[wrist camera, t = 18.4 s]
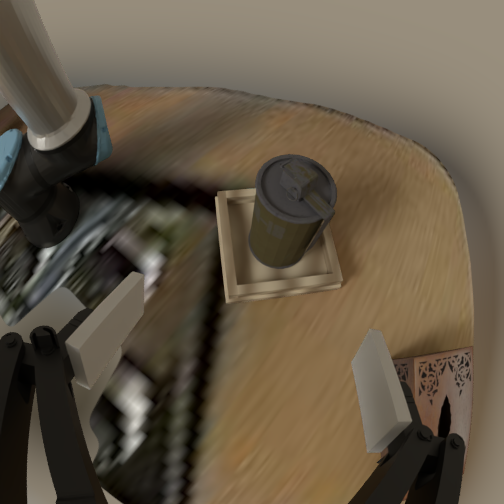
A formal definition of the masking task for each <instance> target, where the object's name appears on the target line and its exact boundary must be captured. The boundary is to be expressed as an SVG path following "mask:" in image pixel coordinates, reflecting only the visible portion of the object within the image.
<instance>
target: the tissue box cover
mask: <svg viewBox="0 0 504 504" xmlns="http://www.w3.org/2000/svg"><path fill="white" fill-rule="evenodd" d="M392 361H393V364H394V367H395V370H396V373H397V376H398V378H399V381H404V382H406V383H407V385H408V386H409V387H410V389H411V391H412V394H413V398H414V400H415V404H416V406H417V409H418V412H419V415H420V418H421V421H422V424H423V425H425V426H428V427H429V428H430V429H431V430H432V432H433V434H434V436H438V437H442V438H446V437H447V436H448V435H449V434H451V433H457V434H458V435H460V436H461V437H462V438H463V440H464V442H465V453H464V465H463V474H464V469H465V464H466V457H467V452H468V445H469V438H470V429H471V418H472V404H473V346H471V347H466V348H460V349H454V350H448V351H442V352H437V353H431V354H426V355H420V356H414V357H407V358H401V359H393V360H392ZM387 453H388V447H386V448H385V449H384V450H383V451H382V452H381V458H383V457H384V456H385V455H386V454H387ZM463 474H462V475H463ZM409 489H410V488H409ZM408 492H409V490H408ZM408 492H407V494H406V495H405V497H404V499H403V500H402V501H404V500H406V498H407V495H408Z"/></svg>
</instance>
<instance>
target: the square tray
mask: <svg viewBox="0 0 504 504" xmlns="http://www.w3.org/2000/svg"><path fill="white" fill-rule="evenodd" d="M255 195H256V188H250V189H241V190H230V191H219V192H218V197H215V201H216V212H217V222H218V233H219V242H220V252H221V262H222V271H223V280H224V288H225V297H226V304H232V303H241V302H249V301H257V300H265V299H273V298H281V297H288V296H295V295H302V294H309V293H316V292H322V291H329V290H335V289H339V288H340V287H341V282H342V281H343V278H342V274H341V269H340V265H339V261H338V257H337V252H336V248H335V244H334V240H333V237H332V233H331V229H330V225H329V223H328V225H327V226H326V228H325V229H324V231H323V232H322V234H321V235H320V237H319V238H318V240H317V242H316V243H315V245H314V246H313V247H312V248H311V249H310V250H308V251H307V252H306V251H305V252H306V253H305V254H304V256H303V257H302V259H301V260H300V261H299V262H298V263H296V264H295V265H293V266H291V267H289V268H284V269H275V268H270V267H267V266H265V265H263V264H262V263H260V262H259V261H258V260H257V259H256V258H255V257H254V256H253V254H252V252H251V251H250V248H249V243H248V236H249V232H250V229H251V224H252V217H253V210H254V202H255ZM323 223H324V221H323V222H322V224H323ZM322 224H321V226H322ZM321 226H320V227H319V229H320V228H321ZM319 229H318V231H319ZM318 231H317V232H316V234H317V233H318ZM316 234H315V236H316ZM315 236H314V237H315ZM314 237H313V239H314ZM313 239H312V240H311V242H312V241H313ZM311 242H310V244H311ZM310 244H309V245H310ZM309 245H308V247H309ZM308 247H307V249H308ZM307 249H306V250H307Z"/></svg>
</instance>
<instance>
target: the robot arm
mask: <svg viewBox="0 0 504 504" xmlns="http://www.w3.org/2000/svg"><path fill="white" fill-rule="evenodd" d="M0 93H1V94H2V96H3V97H4V98H5V99H6V101H7V102H8V103H9V104H10V106H11V107H12V108H13V109H14V110H15V112H16V113H17V114H18V115H19V116H20V118H21V119H22V120H23V121H24V122H25V124H26V125H27V126H28V130H27V132H26V133H25V134H22V132H21V131H20V130H18V129H10V130H8V131H7V132H5V133H4V134H3V135H2V136H0V206H1V207H2V208H3V209H4V210H5V211H6V212H8V213H9V214H10V215H11V216H12V217H13V218H15V219H16V220H17V221H18V223H19V224H20V226H21V228H22V229H23V232H24V234H25V236H26V238H27V239H28V240H29V241H30V242H31V243H32V244H34V245H35V246H37V247H39V248H49V247H52V246H54V245H56V244H58V243H59V242H61V241H62V240H63V239H64V238H65V237H66V236H67V235H68V234H69V232H70V231H71V230H72V228H73V226H74V224H75V222H76V220H77V217H78V213H79V199H78V196H77V194H76V193H75V192H74V190H73V189H72V188H71V187H70V186H69V185H67V184H66V183H63V182H62V181H63V180H65V179H67V178H69V177H71V176H73V175H75V174H77V173H79V172H81V171H83V170H85V169H87V168H90V167H92V166H95V165H97V164H98V163H99V162H101V161H103V160H105V159H106V158H108V157H109V156H110V155H111V153H112V150H113V148H112V143H111V140H110V136H109V132H108V128H107V123H106V119H105V114H104V110H103V106H102V101H101V98H100V96H91V97H89V96H88V95H87V93H86V92H85V91H83V90H81V89H77V88H73V87H72V85H71V83H70V81H69V79H68V77H67V75H66V72H65V71H64V68H63V67H62V64H61V62H60V60H59V58H58V56H57V54H56V52H55V50H54V47H53V45H52V43H51V40H50V38H49V36H48V33H47V31H46V29H45V27H44V24H43V22H42V19H41V17H40V14H39V12H38V9H37V7H36V4H35V2H34V0H0ZM143 314H144V275H143V274H139V273H136V272H132V273H131V274H130V275H129V276H127V277H126V278H125V279H124V280H123V281H122V282H121V283H120V284H119V285H118V286H117V287H116V288H115V289H114V290H113V292H112V293H111V294H110V295H109V296H108V297H107V298H106V299H105V300H104V301H103V302H102V303H101V304H100V305H99V306H98V307H97V308H96V309H95V310H92V309H89V308H86V309H84V310H82V311H80V312H78V313H77V314H76V315H75V316H74V317H73V319H71V320H70V321H69V323H68V324H67V325H66V326H65V327H64V328H63V329H62V330H61V331H60V332H59V333H58V334H57V335H56V332H55V330H54V329H53V328H52V327H49V326H39V327H37V328H35V329H33V331H32V332H31V333H30V340H31V343H32V344H29V343H25V342H23V340H22V337H21V336H20V335H19V334H18V333H14V332H10V333H7V334H5V335H4V336H3V337H2V338H1V340H0V504H27V453H28V438H29V427H30V420H31V412H32V406H33V399H34V393H35V388H36V393H37V403H38V412H39V419H40V426H41V432H42V437H43V443H44V448H45V452H46V456H47V461H48V466H49V470H50V473H51V477H52V481H53V484H54V488H55V490H56V494H57V500H56V504H108V502H107V500H106V498H105V495H104V493H103V490H102V488H101V485H100V483H99V480H98V478H97V475H96V472H95V469H94V467H93V464H92V461H91V458H90V455H89V452H88V449H87V445H86V442H85V438H84V435H83V431H82V428H81V424H80V420H79V416H78V411H77V407H76V403H75V398H74V393H73V388H72V384H71V380H72V379H73V377H74V376H75V378H76V381H77V384H79V385H81V386H83V387H85V388H88V389H89V390H90V389H91V388H92V386H93V385H94V383H95V382H96V380H97V379H98V377H99V376H100V374H101V373H102V371H103V370H104V369H105V367H106V365H107V364H108V363H109V361H110V360H111V358H112V357H113V356H114V354H115V353H116V351H117V350H118V348H119V347H120V346H121V344H122V343H123V341H124V340H125V339H126V337H127V336H128V334H129V333H130V332H131V330H132V329H133V327H134V326H135V325H136V323H137V322H138V321H139V319H140V318H141V316H142V315H143ZM351 363H352V368H353V373H354V378H355V383H356V388H357V393H358V399H359V404H360V410H361V415H362V421H363V427H364V434H365V440H366V447H367V453H379V452H382V451H383V450H384V449H385V448H386V447H388V453H387V454H386V455H385V456H384V457H383V458H381V459H380V460H379V461H378V462H377V463H378V464H379V465H378V466H377V468H376V469H375V470H374V472H373V473H372V474H371V476H370V477H369V478H368V480H367V481H366V482H365V483H364V485H363V486H362V487H361V489H360V490H359V491H358V492H357V493H356V495H355V496H354V497H353V498H352V499H351V501H350V502H349V503H348V504H400V503H401V502H402V500H403V499H404V497H405V495H406V494H407V492H408V490H409V492H408V495H407V498H406V502H405V504H458V501H459V495H460V488H461V481H462V474H463V465H464V453H465V442H464V440H463V438H462V437H461V436H460V435H458V434H457V433H451V434H449V435H448V436H447V437H446V438H442V437H438V436H434V434H433V432H432V430H431V429H430V428H429V427H428V426H425V425H423V424H422V421H421V418H420V415H419V412H418V409H417V406H416V404H415V400H414V398H413V394H412V391H411V389H410V387H409V386H408V385H407V383H406V382H404V381H399V378H398V376H397V373H396V370H395V367H394V364H393V361H392V359H391V356H390V353H389V351H388V348H387V345H386V343H385V340H384V337H383V335H382V332H381V331H380V330H375V329H369V331H368V333H367V335H366V337H365V339H364V340H363V342H362V344H361V346H360V348H359V350H358V351H357V353H356V355H355V357H354V359H353V360H352V362H351ZM409 488H410V489H409Z"/></svg>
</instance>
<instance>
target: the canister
mask: <svg viewBox="0 0 504 504" xmlns="http://www.w3.org/2000/svg"><path fill="white" fill-rule="evenodd" d="M255 187H256V195H255V202H254V210H253V217H252V224H251V229H250V232H249V236H248V243H249V248H250V251H251V252H252V254H253V256H254V257H255V258H256V259H257V260H258V261H259V262H260V263H262V264H263V265H265V266H267V267H270V268H275V269H284V268H289V267H291V266H293V265H295V264H296V263H298V262H299V261H300V260H301V259H302V257H303V256H304V254H305V253H306V252H307V251H308V250H310V249H311V248H312V247H313V246H314V245H315V243H316V242H317V240H318V238H319V237H320V235H321V234H322V232H323V231H324V229H325V228H326V226H327V225H328V223H329V222H330V220H331V218H332V217H333V215H334V214H335V210H334V209H333V207H334V205H335V203H336V199H337V188H336V185H335V183H334V180H333V178H332V177H331V175H330V173H329V172H328V171H327V170H326V169H325V168H324V167H323V166H322V165H321V164H319V163H318V162H316V161H314V160H312V159H310V158H307V157H304V156H300V155H291V154H288V155H281V156H277V157H274V158H272V159H271V160H269V161H267V162H266V163H265V164H263V166H262V167H261V169H260V170H259V171H258V174H257V177H256V183H255ZM323 221H324V223H323V224H322V222H323ZM321 224H322V226H321ZM320 226H321V228H320V229H319V227H320ZM318 229H319V231H318ZM317 231H318V233H317V234H316V232H317ZM315 234H316V236H315ZM314 236H315V237H314ZM313 237H314V239H313ZM312 239H313V241H312V242H311V240H312ZM310 242H311V244H310ZM309 244H310V245H309ZM308 245H309V247H308ZM307 247H308V249H307ZM306 249H307V250H306ZM305 251H306V252H305Z"/></svg>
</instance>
